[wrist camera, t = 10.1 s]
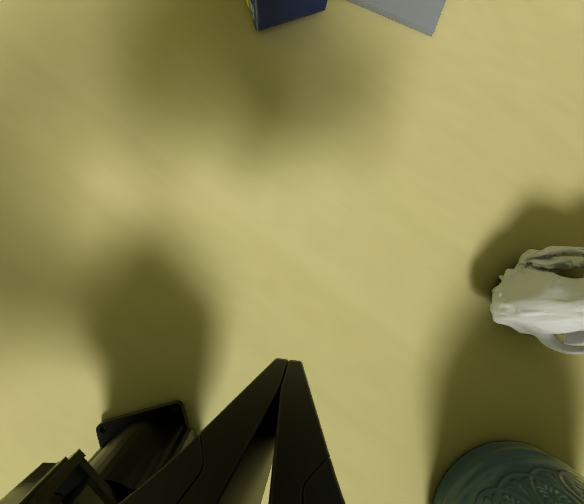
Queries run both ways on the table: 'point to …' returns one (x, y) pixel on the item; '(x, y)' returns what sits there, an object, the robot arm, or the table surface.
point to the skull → (543, 298)
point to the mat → (408, 12)
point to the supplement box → (281, 11)
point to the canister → (510, 477)
